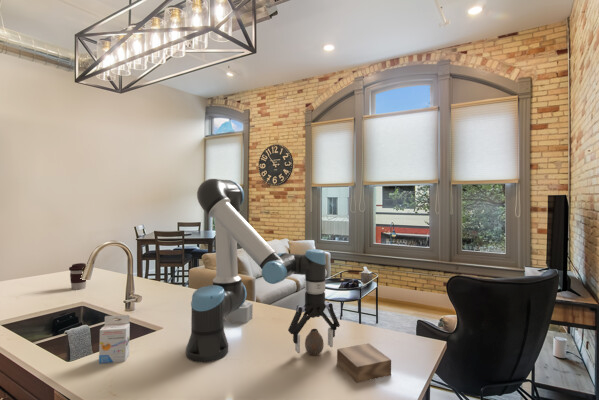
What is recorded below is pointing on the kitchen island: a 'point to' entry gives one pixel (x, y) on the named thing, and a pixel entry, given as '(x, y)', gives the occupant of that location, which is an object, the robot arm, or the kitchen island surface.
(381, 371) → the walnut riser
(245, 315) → the grey angular block
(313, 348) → the vase
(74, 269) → the coffee cup
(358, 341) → the kitchen island surface
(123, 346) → the ink box
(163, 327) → the kitchen island surface
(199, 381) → the kitchen island surface
